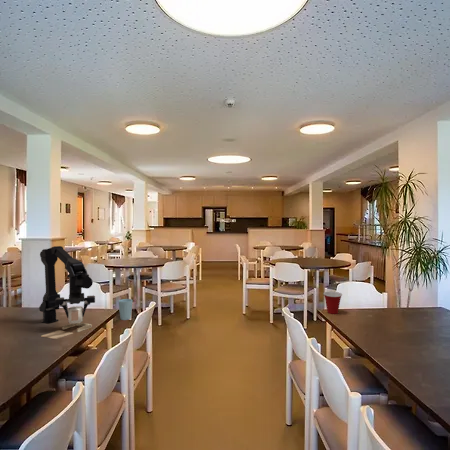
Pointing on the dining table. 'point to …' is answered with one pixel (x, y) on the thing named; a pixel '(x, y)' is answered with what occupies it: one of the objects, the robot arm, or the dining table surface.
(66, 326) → the beige u-shaped bar frame
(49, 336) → the coaster
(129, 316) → the cup
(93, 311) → the dining table surface
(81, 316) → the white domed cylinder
